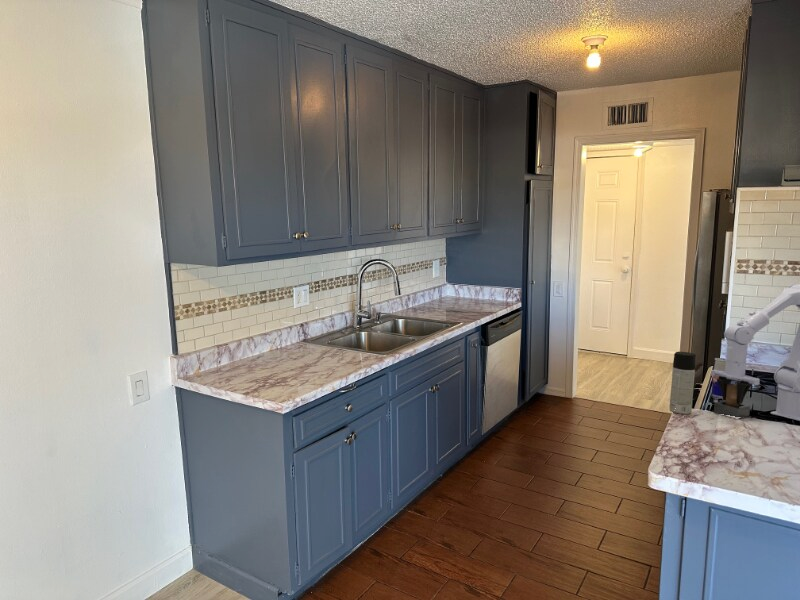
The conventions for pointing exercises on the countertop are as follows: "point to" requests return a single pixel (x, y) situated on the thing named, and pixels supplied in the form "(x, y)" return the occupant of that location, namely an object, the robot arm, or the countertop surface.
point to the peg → (731, 395)
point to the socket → (731, 409)
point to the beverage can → (720, 366)
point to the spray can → (682, 382)
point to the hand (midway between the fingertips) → (732, 401)
